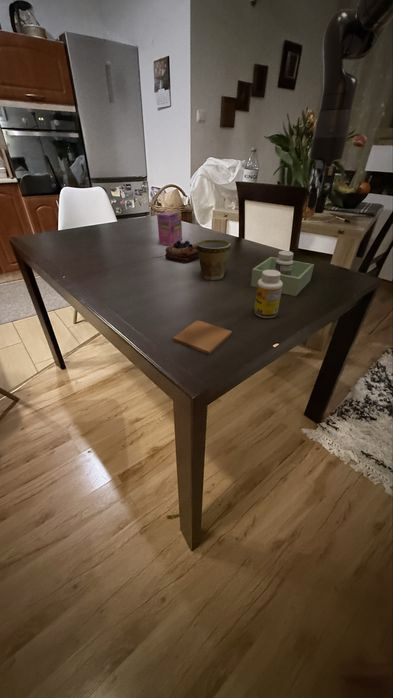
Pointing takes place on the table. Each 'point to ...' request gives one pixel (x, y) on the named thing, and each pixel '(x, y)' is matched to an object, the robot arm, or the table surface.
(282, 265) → the pill bottle
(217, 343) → the cork mat
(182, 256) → the pastry
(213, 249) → the ceramic cup
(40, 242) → the table surface
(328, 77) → the robot arm
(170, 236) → the box
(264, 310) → the supplement bottle
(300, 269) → the bin
